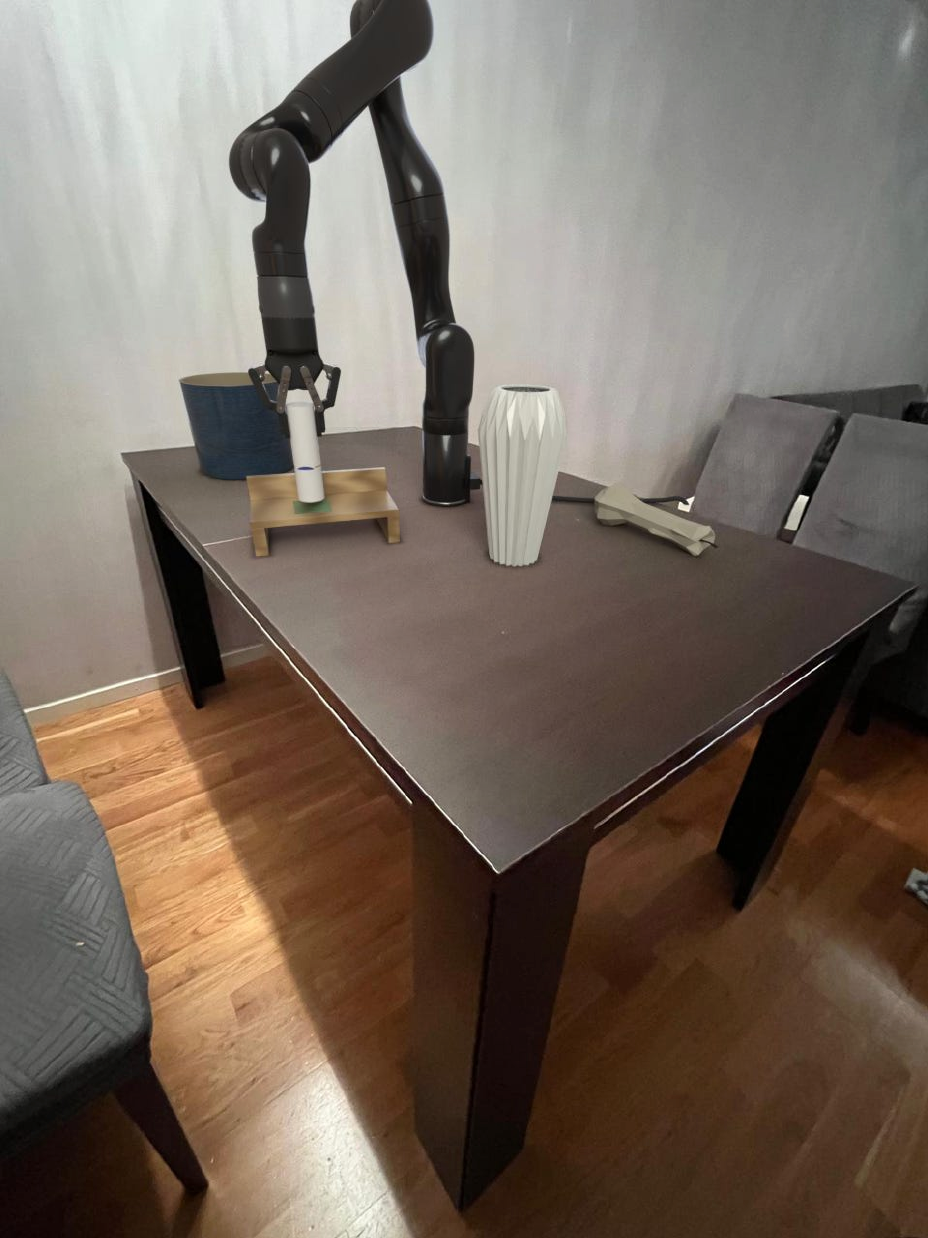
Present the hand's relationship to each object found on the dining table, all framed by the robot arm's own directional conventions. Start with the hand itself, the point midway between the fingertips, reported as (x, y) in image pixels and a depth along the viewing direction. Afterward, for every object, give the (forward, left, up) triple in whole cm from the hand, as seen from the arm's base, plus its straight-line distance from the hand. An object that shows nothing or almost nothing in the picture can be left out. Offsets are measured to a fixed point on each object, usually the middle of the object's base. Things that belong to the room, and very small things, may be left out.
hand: (303, 435), depth 87 cm
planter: (+12, -50, -18) cm, 54 cm away
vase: (-31, +16, -18) cm, 39 cm away
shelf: (-2, -1, -18) cm, 18 cm away
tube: (0, 0, -10) cm, 10 cm away
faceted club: (-58, +15, -18) cm, 62 cm away
